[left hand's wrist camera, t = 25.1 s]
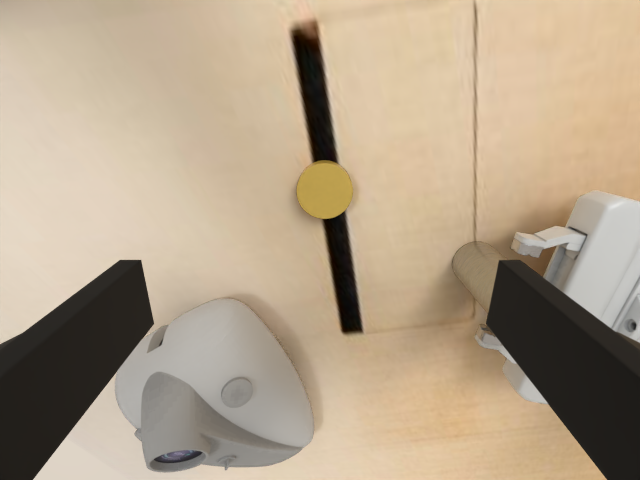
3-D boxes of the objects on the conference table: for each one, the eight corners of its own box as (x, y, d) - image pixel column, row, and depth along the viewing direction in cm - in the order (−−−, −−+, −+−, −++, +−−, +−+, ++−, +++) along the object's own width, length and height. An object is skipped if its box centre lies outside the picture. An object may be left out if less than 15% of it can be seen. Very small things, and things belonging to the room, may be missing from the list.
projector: (142, 424, 45) (63, 559, 31) (141, 269, 37) (35, 358, 24) (307, 446, 46) (301, 585, 33) (339, 300, 39) (349, 402, 25)
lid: (287, 185, 34) (284, 190, 32) (326, 148, 33) (326, 151, 31) (322, 223, 36) (322, 229, 34) (361, 188, 34) (364, 193, 32)
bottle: (501, 271, 37) (615, 370, 23) (459, 288, 38) (544, 394, 24) (489, 234, 36) (602, 315, 21) (446, 252, 37) (526, 342, 22)
